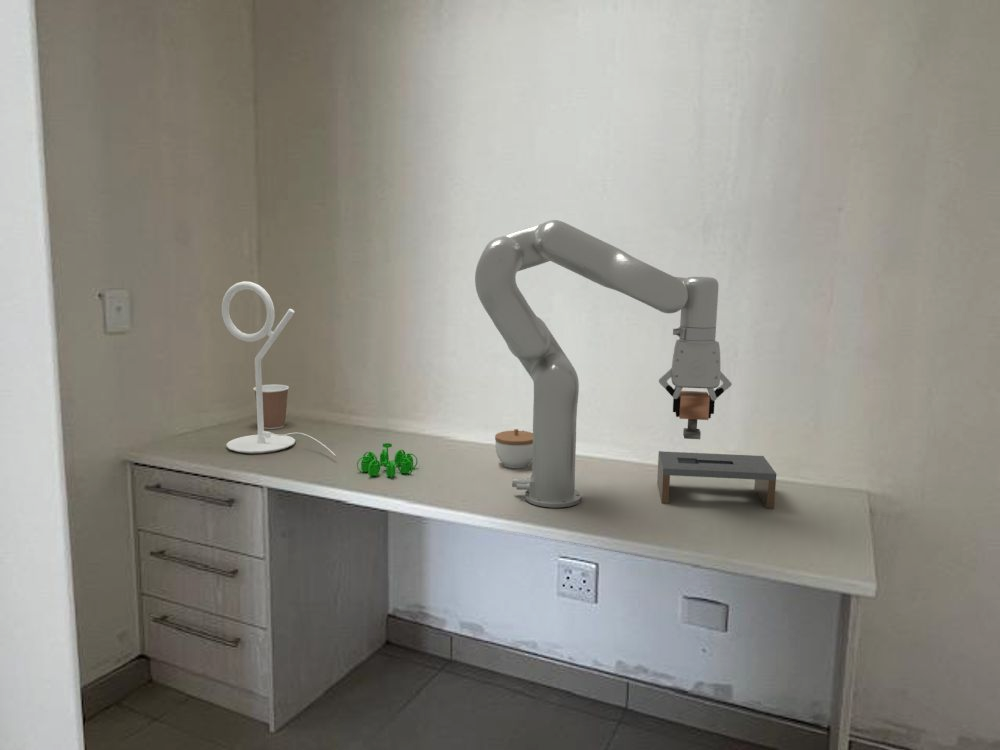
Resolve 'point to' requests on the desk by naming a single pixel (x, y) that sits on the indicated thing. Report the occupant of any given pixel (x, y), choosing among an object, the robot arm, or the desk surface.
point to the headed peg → (693, 411)
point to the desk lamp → (258, 372)
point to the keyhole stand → (717, 471)
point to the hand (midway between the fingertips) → (692, 415)
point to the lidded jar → (514, 448)
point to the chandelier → (387, 462)
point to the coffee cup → (274, 405)
